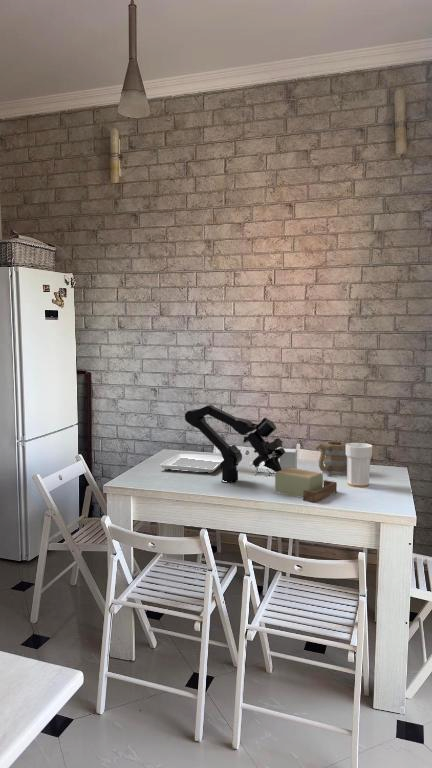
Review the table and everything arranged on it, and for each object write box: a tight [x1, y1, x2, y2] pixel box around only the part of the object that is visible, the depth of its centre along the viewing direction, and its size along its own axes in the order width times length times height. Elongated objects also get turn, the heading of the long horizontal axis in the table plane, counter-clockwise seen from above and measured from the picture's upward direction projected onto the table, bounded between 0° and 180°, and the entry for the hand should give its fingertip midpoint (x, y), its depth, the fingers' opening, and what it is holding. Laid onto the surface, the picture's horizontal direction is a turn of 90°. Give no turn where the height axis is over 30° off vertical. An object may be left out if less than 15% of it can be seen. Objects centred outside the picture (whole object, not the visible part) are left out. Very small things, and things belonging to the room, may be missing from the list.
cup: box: [346, 442, 373, 488], centre depth 243 cm, size 11×11×17 cm
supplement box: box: [279, 448, 298, 470], centre depth 255 cm, size 7×7×13 cm
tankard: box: [314, 440, 348, 477], centre depth 263 cm, size 20×13×15 cm, turn 122°
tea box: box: [274, 468, 324, 498], centre depth 231 cm, size 16×11×8 cm
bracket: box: [302, 479, 338, 504], centre depth 225 cm, size 5×19×4 cm, turn 144°
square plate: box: [159, 453, 224, 474], centre depth 275 cm, size 27×27×4 cm
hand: (281, 473), depth 235 cm, fingers closed
